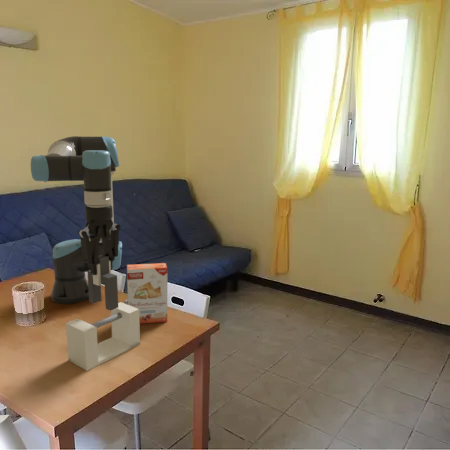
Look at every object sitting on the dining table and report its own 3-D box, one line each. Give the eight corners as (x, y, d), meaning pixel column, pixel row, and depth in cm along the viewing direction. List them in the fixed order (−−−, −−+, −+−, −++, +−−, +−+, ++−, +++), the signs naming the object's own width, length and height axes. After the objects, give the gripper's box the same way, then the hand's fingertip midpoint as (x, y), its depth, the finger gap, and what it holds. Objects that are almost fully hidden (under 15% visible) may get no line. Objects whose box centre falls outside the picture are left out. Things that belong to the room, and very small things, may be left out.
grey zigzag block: (89, 302, 127) (86, 255, 123) (97, 299, 129) (95, 252, 126) (110, 310, 121) (107, 261, 118) (118, 307, 123) (116, 259, 120)
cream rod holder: (68, 360, 123) (65, 323, 121) (121, 335, 139) (120, 302, 136) (86, 370, 118) (84, 332, 115) (140, 343, 134) (139, 309, 131)
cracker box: (128, 325, 146) (126, 269, 141) (128, 318, 152) (126, 264, 147) (168, 322, 149) (167, 267, 145) (166, 315, 155) (165, 261, 150)
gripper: (82, 210, 110) (86, 293, 115) (129, 203, 123) (131, 278, 128) (65, 207, 114) (71, 287, 119) (113, 200, 127) (116, 273, 132)
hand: (102, 282), depth 123 cm, fingers closed on grey zigzag block, 3 cm apart
